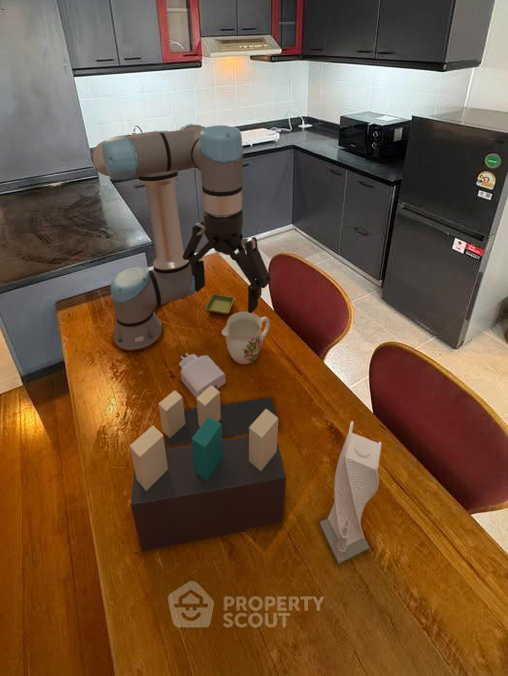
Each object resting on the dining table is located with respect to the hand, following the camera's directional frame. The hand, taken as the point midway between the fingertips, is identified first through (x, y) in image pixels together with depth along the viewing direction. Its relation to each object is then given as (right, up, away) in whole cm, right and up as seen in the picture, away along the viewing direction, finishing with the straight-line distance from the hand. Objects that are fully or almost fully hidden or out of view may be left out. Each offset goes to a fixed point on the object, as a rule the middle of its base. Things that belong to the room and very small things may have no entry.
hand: (225, 298), depth 82 cm
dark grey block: (-2, -35, +16) cm, 39 cm away
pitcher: (+5, -26, +36) cm, 44 cm away
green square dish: (-5, -16, +55) cm, 58 cm away
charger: (-10, -29, +28) cm, 42 cm away
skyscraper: (+24, -46, -5) cm, 52 cm away
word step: (-3, -44, -2) cm, 44 cm away
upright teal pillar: (-3, -30, -9) cm, 31 cm away
